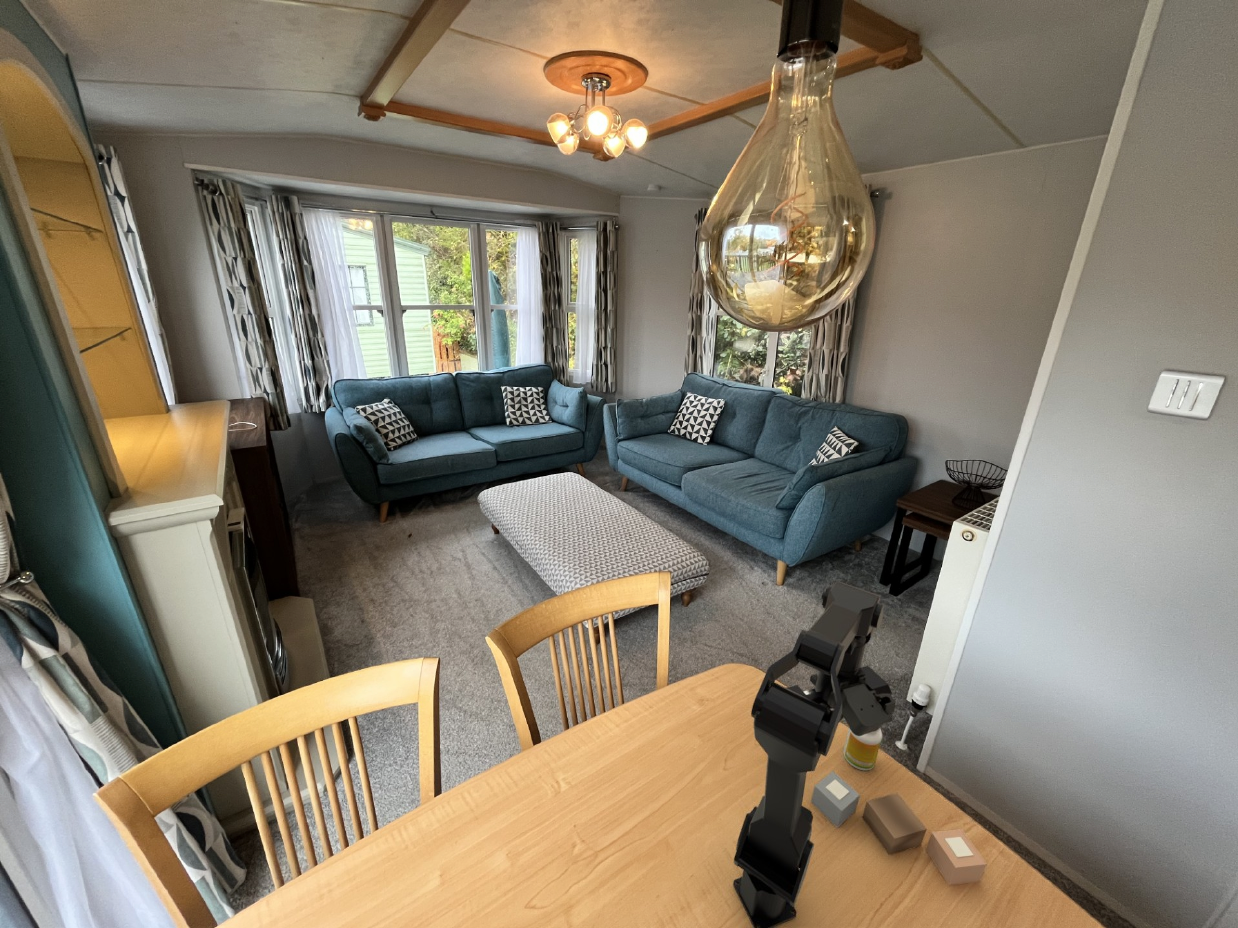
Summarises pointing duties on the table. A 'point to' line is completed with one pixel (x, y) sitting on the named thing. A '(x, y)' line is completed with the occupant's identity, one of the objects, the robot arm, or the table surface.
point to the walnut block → (894, 823)
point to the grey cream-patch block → (835, 798)
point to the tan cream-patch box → (955, 857)
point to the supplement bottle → (862, 749)
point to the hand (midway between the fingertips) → (824, 734)
